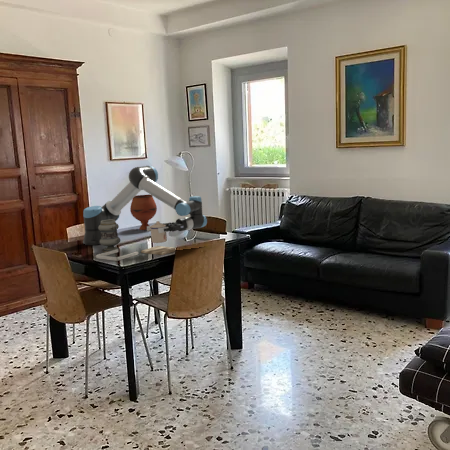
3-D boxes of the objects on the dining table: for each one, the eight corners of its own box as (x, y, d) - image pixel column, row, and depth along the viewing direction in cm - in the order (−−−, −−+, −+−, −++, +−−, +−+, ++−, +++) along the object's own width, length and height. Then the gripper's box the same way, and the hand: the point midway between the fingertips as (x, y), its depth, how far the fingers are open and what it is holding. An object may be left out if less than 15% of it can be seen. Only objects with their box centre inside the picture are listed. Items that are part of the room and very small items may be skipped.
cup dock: (87, 256, 274) (87, 254, 274) (109, 250, 288) (109, 248, 287) (116, 260, 261) (116, 258, 261) (138, 254, 275) (138, 251, 274)
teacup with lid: (167, 242, 274) (166, 222, 272) (151, 243, 272) (150, 223, 270) (166, 238, 285) (165, 219, 284) (151, 239, 284) (149, 220, 282)
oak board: (141, 252, 279) (141, 250, 278) (157, 247, 290) (157, 245, 290) (162, 255, 270) (162, 253, 270) (178, 250, 281) (178, 247, 281)
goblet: (126, 230, 355) (124, 197, 351) (141, 226, 372) (139, 194, 368) (148, 231, 347) (146, 197, 343) (163, 227, 364) (160, 194, 360)
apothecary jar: (100, 249, 294) (97, 219, 291) (120, 247, 297) (118, 218, 294) (100, 253, 283) (97, 222, 280) (121, 251, 285) (118, 221, 282)
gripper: (196, 232, 281) (164, 238, 267) (173, 228, 299) (142, 234, 284) (195, 219, 280) (164, 225, 266) (172, 216, 297) (141, 221, 283)
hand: (152, 229), depth 275 cm, fingers closed on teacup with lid, 11 cm apart
